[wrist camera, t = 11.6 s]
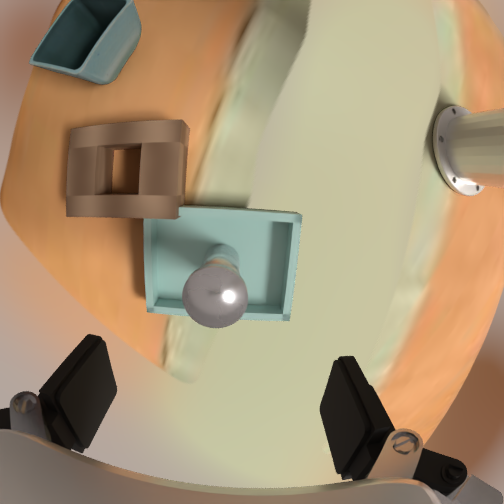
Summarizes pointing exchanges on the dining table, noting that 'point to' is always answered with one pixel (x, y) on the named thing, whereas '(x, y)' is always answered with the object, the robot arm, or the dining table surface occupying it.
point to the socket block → (151, 170)
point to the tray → (230, 233)
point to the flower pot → (90, 40)
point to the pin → (216, 289)
